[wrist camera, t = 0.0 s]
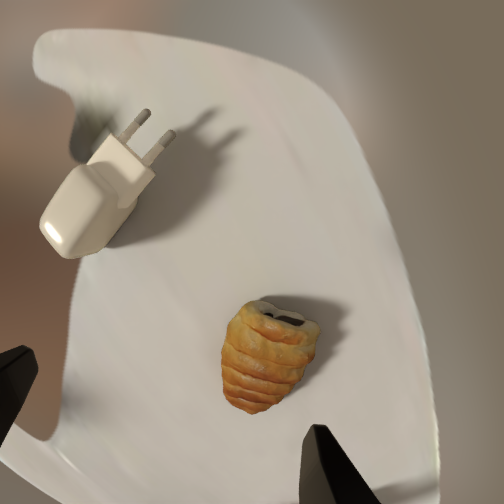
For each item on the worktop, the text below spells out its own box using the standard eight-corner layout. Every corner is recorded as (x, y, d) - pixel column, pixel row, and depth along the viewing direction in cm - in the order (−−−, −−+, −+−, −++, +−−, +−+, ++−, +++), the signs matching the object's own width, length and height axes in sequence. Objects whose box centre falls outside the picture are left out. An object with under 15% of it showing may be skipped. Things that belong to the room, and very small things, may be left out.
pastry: (280, 410, 25) (283, 436, 21) (206, 389, 24) (198, 413, 21) (322, 316, 24) (332, 333, 20) (239, 290, 23) (235, 304, 20)
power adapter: (154, 115, 22) (125, 88, 16) (196, 152, 22) (176, 131, 16) (70, 219, 23) (27, 221, 17) (106, 259, 23) (66, 270, 17)
